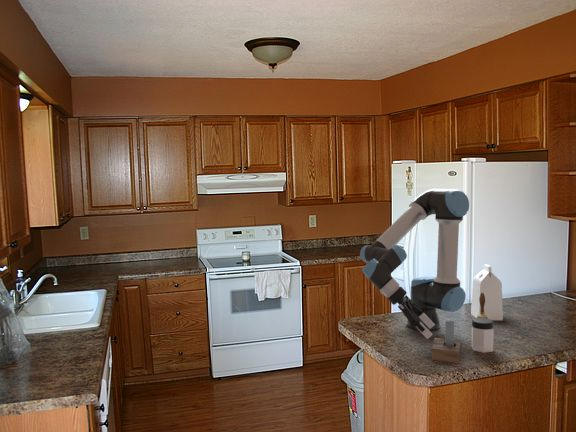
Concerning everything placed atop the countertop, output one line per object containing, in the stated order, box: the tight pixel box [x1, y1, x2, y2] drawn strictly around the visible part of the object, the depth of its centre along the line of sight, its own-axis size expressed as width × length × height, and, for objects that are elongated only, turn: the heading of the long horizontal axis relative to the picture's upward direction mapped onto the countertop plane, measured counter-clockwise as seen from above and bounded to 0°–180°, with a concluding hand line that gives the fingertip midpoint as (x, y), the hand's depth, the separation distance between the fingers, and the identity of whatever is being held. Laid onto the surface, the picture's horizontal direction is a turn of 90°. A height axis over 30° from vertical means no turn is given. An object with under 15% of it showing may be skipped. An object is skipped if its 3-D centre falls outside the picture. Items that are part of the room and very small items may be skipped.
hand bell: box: [477, 293, 488, 319], centre depth 243 cm, size 8×8×16 cm
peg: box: [444, 319, 455, 347], centre depth 206 cm, size 3×3×14 cm
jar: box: [470, 317, 494, 353], centre depth 213 cm, size 9×8×12 cm
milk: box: [470, 263, 504, 321], centre depth 259 cm, size 12×12×26 cm
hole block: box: [431, 337, 461, 364], centre depth 206 cm, size 14×10×4 cm
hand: (431, 331), depth 208 cm, fingers open, 13 cm apart
